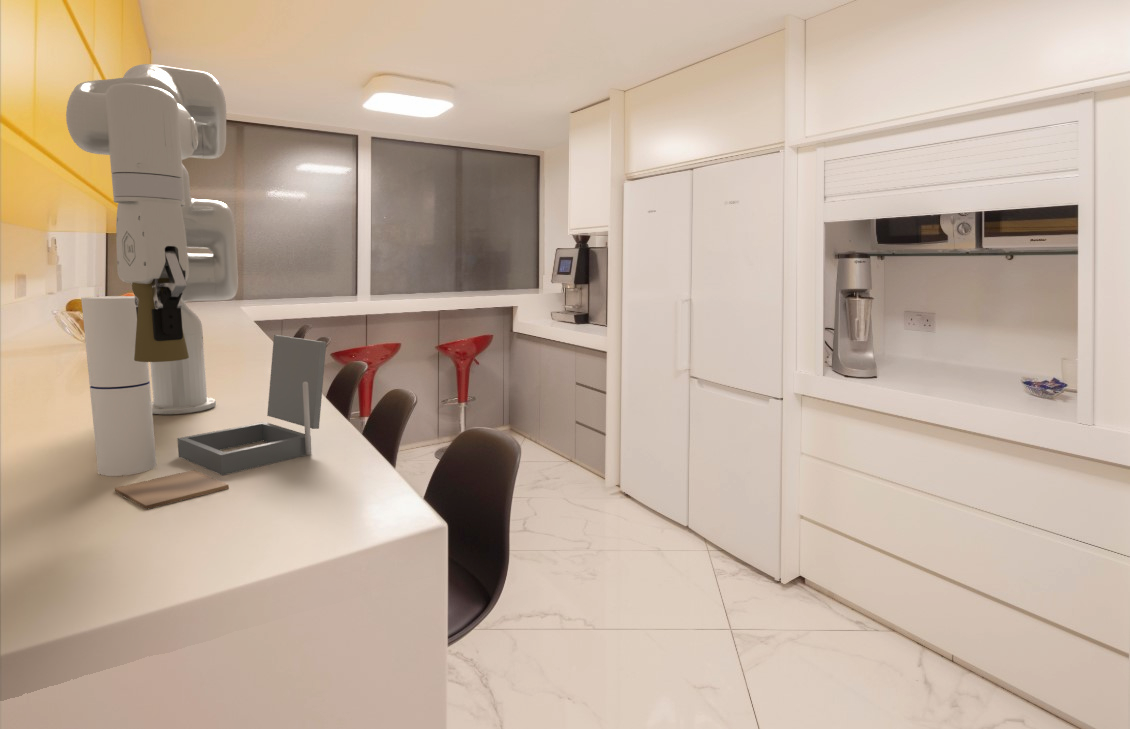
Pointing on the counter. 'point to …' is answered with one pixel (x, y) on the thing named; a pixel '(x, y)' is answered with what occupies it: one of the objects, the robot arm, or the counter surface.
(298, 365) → the case lid
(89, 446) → the counter surface
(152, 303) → the cork
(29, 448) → the counter surface
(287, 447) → the case
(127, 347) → the cylindrical container
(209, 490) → the walnut pad
